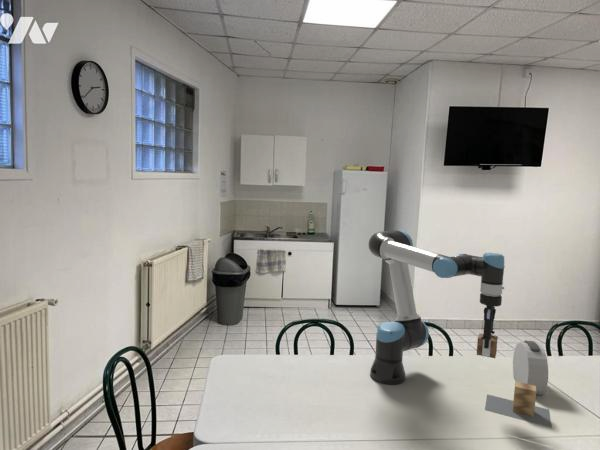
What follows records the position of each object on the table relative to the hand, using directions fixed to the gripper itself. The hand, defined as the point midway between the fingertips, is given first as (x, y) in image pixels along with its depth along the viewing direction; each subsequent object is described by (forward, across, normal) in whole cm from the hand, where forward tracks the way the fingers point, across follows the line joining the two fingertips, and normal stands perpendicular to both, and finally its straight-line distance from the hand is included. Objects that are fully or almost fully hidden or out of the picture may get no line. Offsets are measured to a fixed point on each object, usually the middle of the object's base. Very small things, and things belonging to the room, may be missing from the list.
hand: (486, 352), depth 162 cm
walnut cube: (0, 0, 0) cm, 0 cm away
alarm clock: (+22, +29, -15) cm, 40 cm away
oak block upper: (+16, +4, -14) cm, 22 cm away
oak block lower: (+21, +4, -14) cm, 26 cm away
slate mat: (+22, +4, -12) cm, 25 cm away
